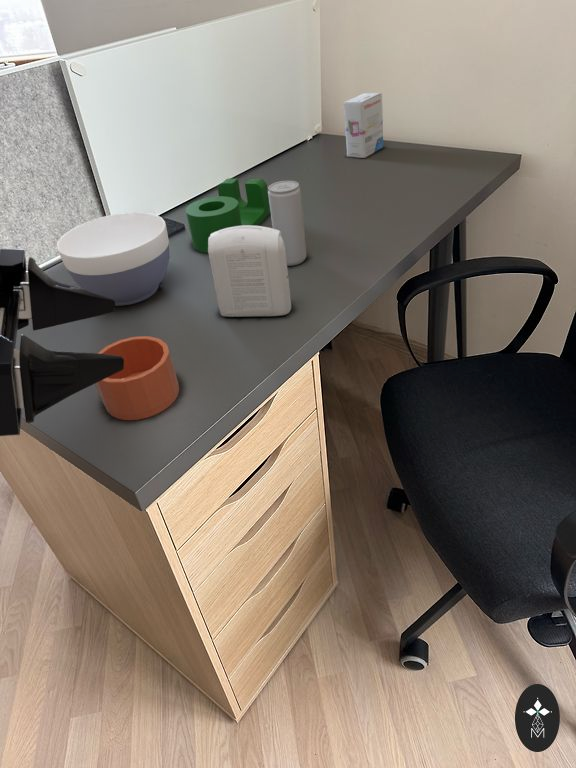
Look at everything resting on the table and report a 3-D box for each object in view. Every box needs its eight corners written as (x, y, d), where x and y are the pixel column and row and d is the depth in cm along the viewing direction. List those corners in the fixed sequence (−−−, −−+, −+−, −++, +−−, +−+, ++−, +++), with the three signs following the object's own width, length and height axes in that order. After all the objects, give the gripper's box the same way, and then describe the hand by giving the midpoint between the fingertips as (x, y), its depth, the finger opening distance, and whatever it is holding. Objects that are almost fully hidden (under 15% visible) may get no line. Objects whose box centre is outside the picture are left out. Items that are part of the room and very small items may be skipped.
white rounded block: (294, 301, 81) (284, 218, 73) (290, 317, 77) (279, 231, 70) (224, 304, 82) (207, 222, 75) (217, 320, 79) (199, 236, 72)
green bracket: (230, 254, 96) (224, 217, 92) (184, 251, 99) (175, 215, 95) (270, 212, 108) (266, 179, 104) (228, 211, 111) (222, 178, 108)
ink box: (365, 145, 136) (364, 91, 128) (384, 147, 133) (383, 92, 126) (345, 156, 131) (343, 100, 123) (364, 158, 128) (362, 101, 121)
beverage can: (306, 265, 89) (299, 189, 82) (276, 268, 90) (266, 193, 82) (306, 252, 93) (299, 178, 86) (277, 254, 93) (268, 181, 86)
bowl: (147, 259, 98) (132, 204, 92) (200, 285, 88) (186, 226, 82) (61, 296, 90) (38, 239, 84) (108, 330, 80) (86, 268, 74)
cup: (106, 428, 63) (90, 390, 60) (104, 383, 70) (90, 346, 67) (183, 408, 64) (172, 369, 61) (174, 366, 71) (164, 329, 68)
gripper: (-169, 295, 30) (132, 300, 36) (-97, 181, 44) (112, 197, 50) (-122, 449, 37) (128, 433, 42) (-72, 307, 51) (111, 309, 56)
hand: (119, 331), depth 47 cm, fingers open, 9 cm apart
